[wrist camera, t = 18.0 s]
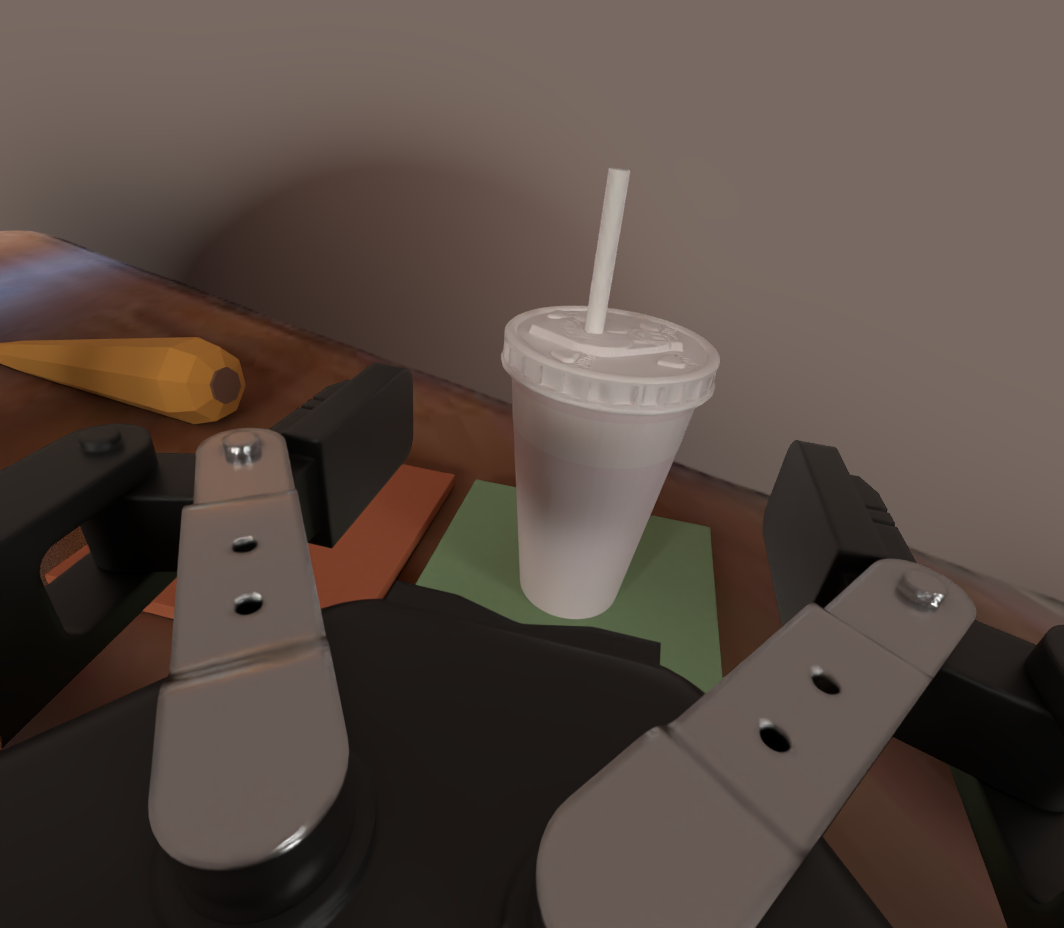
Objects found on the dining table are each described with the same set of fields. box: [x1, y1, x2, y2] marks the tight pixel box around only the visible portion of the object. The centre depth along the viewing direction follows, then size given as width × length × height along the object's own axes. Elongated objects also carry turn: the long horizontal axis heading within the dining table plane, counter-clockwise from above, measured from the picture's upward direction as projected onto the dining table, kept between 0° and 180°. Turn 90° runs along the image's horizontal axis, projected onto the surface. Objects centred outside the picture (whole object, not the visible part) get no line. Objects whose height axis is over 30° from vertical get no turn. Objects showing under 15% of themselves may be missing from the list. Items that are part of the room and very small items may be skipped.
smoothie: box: [501, 168, 720, 619], centre depth 18 cm, size 6×6×14 cm
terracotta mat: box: [44, 464, 455, 619], centre depth 24 cm, size 11×11×1 cm
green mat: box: [415, 480, 722, 694], centre depth 22 cm, size 11×11×1 cm
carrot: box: [0, 337, 246, 424], centre depth 32 cm, size 20×4×4 cm, turn 72°
